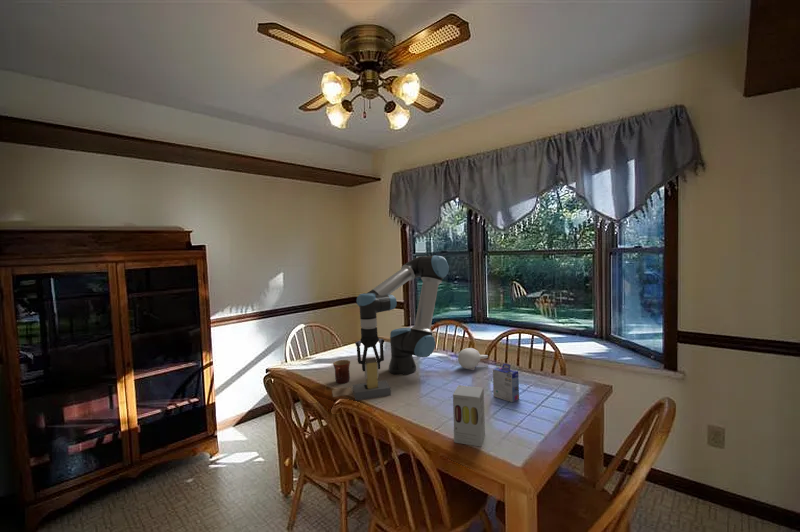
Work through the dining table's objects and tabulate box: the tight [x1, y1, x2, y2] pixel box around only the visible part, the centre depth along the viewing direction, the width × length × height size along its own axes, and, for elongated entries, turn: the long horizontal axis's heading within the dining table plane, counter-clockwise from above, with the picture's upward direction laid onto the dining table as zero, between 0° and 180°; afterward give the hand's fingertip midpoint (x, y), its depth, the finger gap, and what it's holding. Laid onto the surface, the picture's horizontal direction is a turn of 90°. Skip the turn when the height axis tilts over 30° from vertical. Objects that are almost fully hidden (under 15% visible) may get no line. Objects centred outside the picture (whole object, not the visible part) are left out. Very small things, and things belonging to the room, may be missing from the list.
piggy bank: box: [457, 347, 489, 371], centre depth 198 cm, size 12×12×15 cm
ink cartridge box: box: [492, 363, 520, 403], centre depth 156 cm, size 10×6×14 cm, turn 42°
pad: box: [331, 386, 353, 398], centre depth 171 cm, size 9×9×1 cm
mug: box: [332, 359, 351, 385], centre depth 184 cm, size 12×9×10 cm
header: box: [352, 379, 392, 401], centre depth 167 cm, size 16×10×4 cm, turn 104°
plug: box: [365, 356, 379, 389], centre depth 167 cm, size 4×4×13 cm
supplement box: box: [452, 384, 486, 448], centre depth 125 cm, size 10×9×17 cm
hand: (371, 376), depth 167 cm, fingers closed on plug, 4 cm apart
